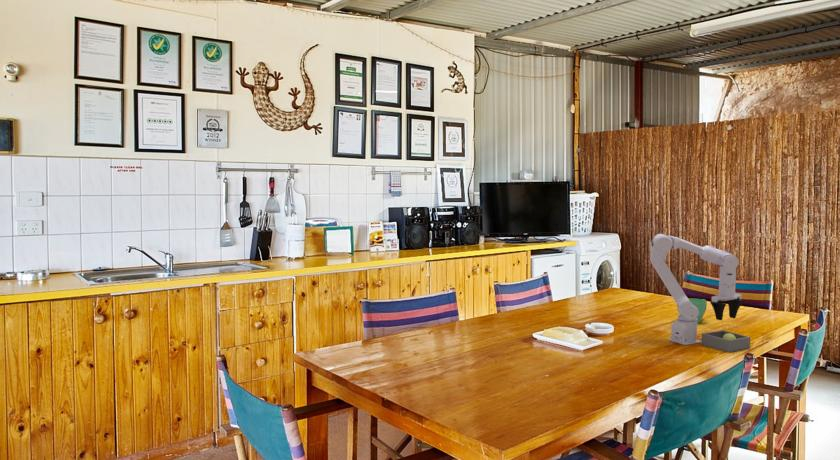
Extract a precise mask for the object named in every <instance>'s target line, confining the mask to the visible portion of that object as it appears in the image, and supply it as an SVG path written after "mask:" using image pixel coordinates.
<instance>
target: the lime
mask: <svg viewBox="0 0 840 460" xmlns="http://www.w3.org/2000/svg"><path fill="white" fill-rule="evenodd" d="M723 339H727V340H733V339H736V337H735V336H734V335H733V334H731V333H727V334H725V335H724V336H723Z"/></svg>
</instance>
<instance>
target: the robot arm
mask: <svg viewBox="0 0 840 460" xmlns="http://www.w3.org/2000/svg"><path fill="white" fill-rule="evenodd" d="M649 245H650V253H649V256H650V257H649V260H650V261H649V262H650V263H651V265H652V266H653V268H654V270H655V271H656V272H657V274H658V276H659V278H660V279H661V281H662V283H663V284H664V286H665V287H666V289H667V290H668V293H669V294H670V295H671V297H672V298H673V301H674V302H675V304H676V306H677V307H676V309H677V312H678V314H679V315H678V316H677V318H676V320H675V321H673V322H672V323H671V326H670V328H671V329H670V330H671V331H670V338H669V339H668V341H670V342H673V343H677V344H680V345H684V346H690V345H695V344H701V340H699V339H697V337H698V324H697V317H698V315H699V310H698V308H697V307H696V306H694V305H693V304H692V303H691V302H690V301H689V299H688V296H687V295H686V294H685V291H684V290H683V288H682V287H681V285H680V284H679V282H678V280H677V279H676V277H675V275H674V274H673V272H672V271H671V269H670V267H669V266H668V265H667V262H666V261H665V260H666V258H667V257H666V256H667V254H668V253H669V252H670V250H676V249H683V250H686V251H687V252H688V251H689V252H690V253H691V252H692V253H694V254H697V255H699V257H700V259H701V260H703V261H706V262H709V263H712V264H714V265H717V266H718V265H719V275H718V276H719V278H718V279H719V280H718V294H716V295H714V296H711V300H710V304H711V306H712V308H713V311H714V315H715V319H716V321H723V317H724V311H725V307H726V306H728V316H729V318H731V319H736V318H737V315H738V311H739V309H740V307H741V305H743V301H744V300H742V297H743V296H742V294H740V293H736V282H737V280H736V279H737V273H736V272H737V267H738V266H739V260H738V259H739V258H737V256H736V255H734V254H733V253H731V252H728V251H727V250H724V249H722V250H721V249H718V248H716V247H715V246H714V245H713V244H710V245H707V244H706V245H704V246H700V245H698V244H697V243H696V244H695V243H694V242H690V241H688V240H685V239H682V238H680V237H676V236H674V235H673V236H672V235H666V234H664V233H657V234H655V235H653V237H652V239H651V242H650V244H649ZM725 302H727V303H725ZM727 304H728V305H727Z"/></svg>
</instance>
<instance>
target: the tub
mask: <svg viewBox="0 0 840 460" xmlns="http://www.w3.org/2000/svg"><path fill="white" fill-rule="evenodd" d="M727 333H731V334H733V335H734V336H735V337H736V339H733V340H727V339H723V336H724V335H725V334H727ZM700 341H701V343H700V344H701V346H703V347H707V348H711V349H713V350H718V351H722V352H726V353H728V354H729V353H733V352H734V353H735V352H739V351H745V350H746V351H747V350H751V336H747V335H743V334H738V333H734V332H731V331H727V330H722V329H721V330H714V331H710V332H709V331H708V332H704V333H701V339H700Z"/></svg>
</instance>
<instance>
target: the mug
mask: <svg viewBox="0 0 840 460" xmlns="http://www.w3.org/2000/svg"><path fill="white" fill-rule="evenodd" d="M687 298H688V297H687ZM688 299H689V301H690V302H691V303H692V304H693V305H694V306H696V307H697V308H698V310H699V315H698V317H697V325H699V324H700V323H701V321H702V319H703V317H704V314H705V312H706V310H707V304H708V302H707V300H706V299H704V298H703V299H701V298H691V297H690V298H688Z"/></svg>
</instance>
